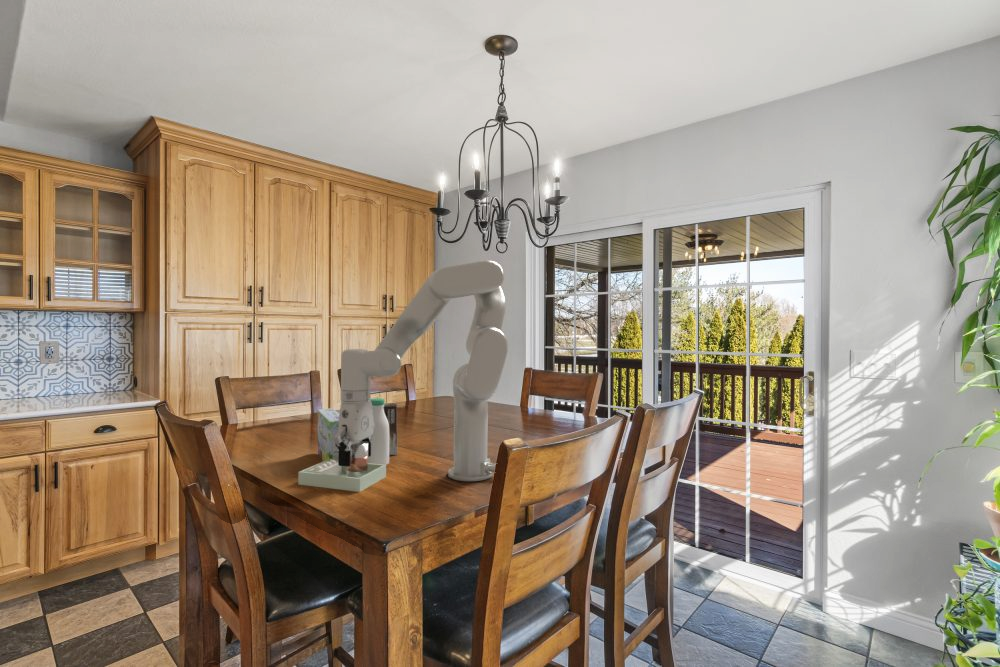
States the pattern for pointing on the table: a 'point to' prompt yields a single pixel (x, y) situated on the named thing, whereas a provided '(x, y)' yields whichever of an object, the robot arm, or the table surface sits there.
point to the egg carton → (328, 468)
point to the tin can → (358, 459)
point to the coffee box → (392, 426)
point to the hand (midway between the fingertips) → (355, 460)
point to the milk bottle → (379, 434)
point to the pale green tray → (342, 478)
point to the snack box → (327, 433)
